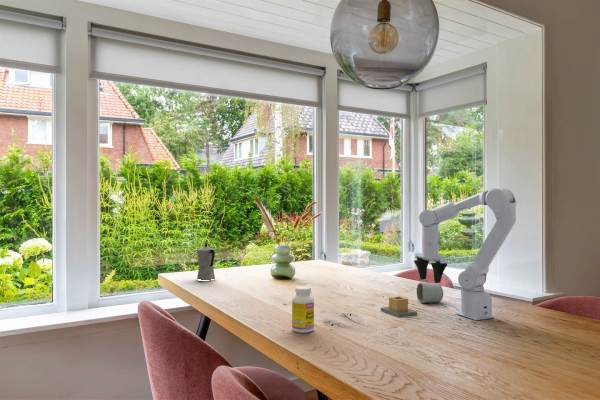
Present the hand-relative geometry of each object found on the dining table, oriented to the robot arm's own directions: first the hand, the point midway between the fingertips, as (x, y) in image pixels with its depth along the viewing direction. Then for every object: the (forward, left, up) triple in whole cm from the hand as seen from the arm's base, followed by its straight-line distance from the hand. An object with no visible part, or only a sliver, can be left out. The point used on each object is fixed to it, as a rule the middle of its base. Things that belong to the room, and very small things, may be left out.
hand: (430, 280), depth 162 cm
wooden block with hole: (0, +14, -9) cm, 17 cm away
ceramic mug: (+9, -7, -10) cm, 15 cm away
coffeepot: (+91, +60, -10) cm, 109 cm away
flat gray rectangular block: (0, +14, -10) cm, 17 cm away
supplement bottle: (-5, +53, -10) cm, 54 cm away
